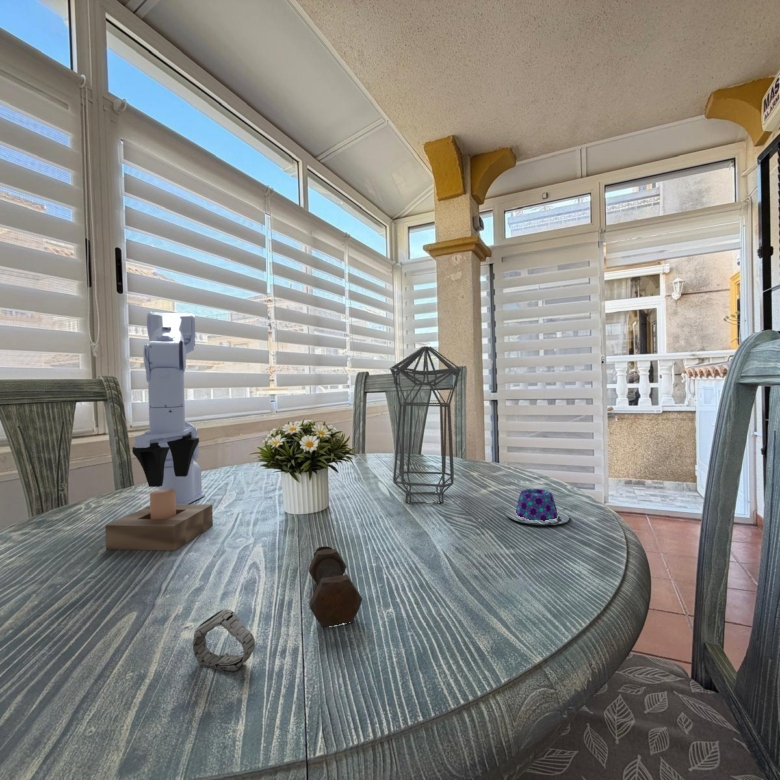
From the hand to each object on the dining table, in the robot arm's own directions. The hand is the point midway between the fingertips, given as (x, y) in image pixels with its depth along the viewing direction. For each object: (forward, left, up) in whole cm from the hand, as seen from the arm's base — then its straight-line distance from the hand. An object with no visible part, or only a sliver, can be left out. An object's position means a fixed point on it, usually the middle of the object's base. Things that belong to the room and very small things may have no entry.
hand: (169, 481), depth 76 cm
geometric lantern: (-24, +47, -10) cm, 54 cm away
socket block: (+2, 0, -10) cm, 10 cm away
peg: (+2, 0, -10) cm, 10 cm away
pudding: (-11, +68, -10) cm, 70 cm away
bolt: (+20, +35, -10) cm, 41 cm away
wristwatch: (+34, +28, -10) cm, 45 cm away
